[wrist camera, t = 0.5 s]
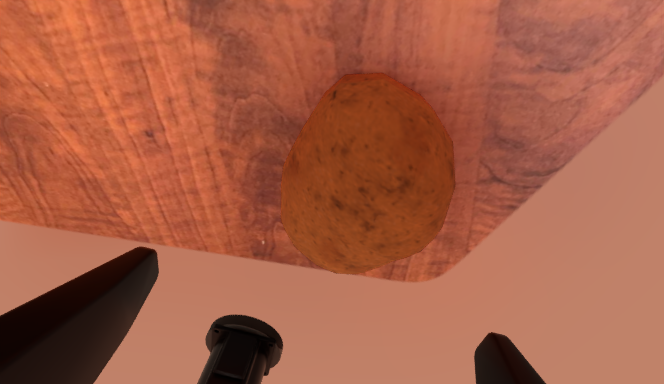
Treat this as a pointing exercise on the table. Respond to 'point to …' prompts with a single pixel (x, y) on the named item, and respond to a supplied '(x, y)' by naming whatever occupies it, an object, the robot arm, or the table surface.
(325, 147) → the potato
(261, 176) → the table surface
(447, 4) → the table surface
